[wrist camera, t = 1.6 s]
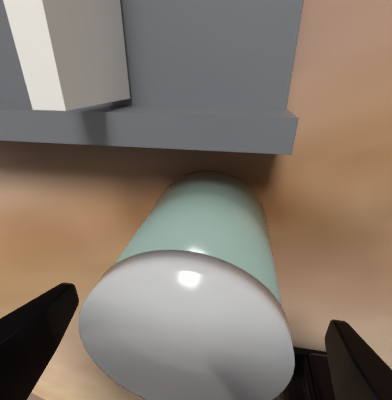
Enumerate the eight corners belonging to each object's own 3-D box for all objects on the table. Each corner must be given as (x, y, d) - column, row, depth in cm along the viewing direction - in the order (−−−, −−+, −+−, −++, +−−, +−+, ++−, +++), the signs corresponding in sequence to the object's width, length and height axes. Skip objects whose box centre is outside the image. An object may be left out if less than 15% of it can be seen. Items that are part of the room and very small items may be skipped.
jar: (260, 274, 14) (275, 429, 8) (157, 262, 15) (97, 393, 9) (276, 173, 12) (319, 288, 5) (150, 166, 13) (55, 257, 6)
